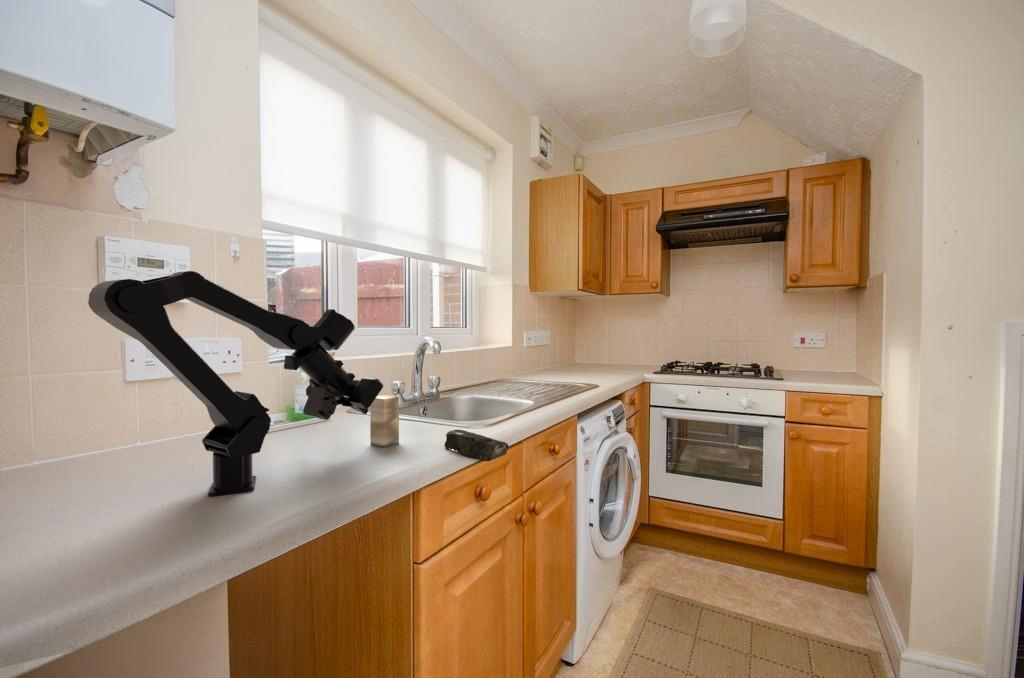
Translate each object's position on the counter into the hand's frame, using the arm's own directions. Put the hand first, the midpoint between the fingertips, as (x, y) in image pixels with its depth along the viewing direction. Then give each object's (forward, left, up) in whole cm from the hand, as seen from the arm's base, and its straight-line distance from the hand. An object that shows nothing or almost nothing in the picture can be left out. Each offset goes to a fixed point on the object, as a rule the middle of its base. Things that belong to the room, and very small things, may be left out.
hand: (365, 412), depth 101 cm
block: (+3, -5, -8) cm, 10 cm away
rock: (-12, -21, -9) cm, 26 cm away
